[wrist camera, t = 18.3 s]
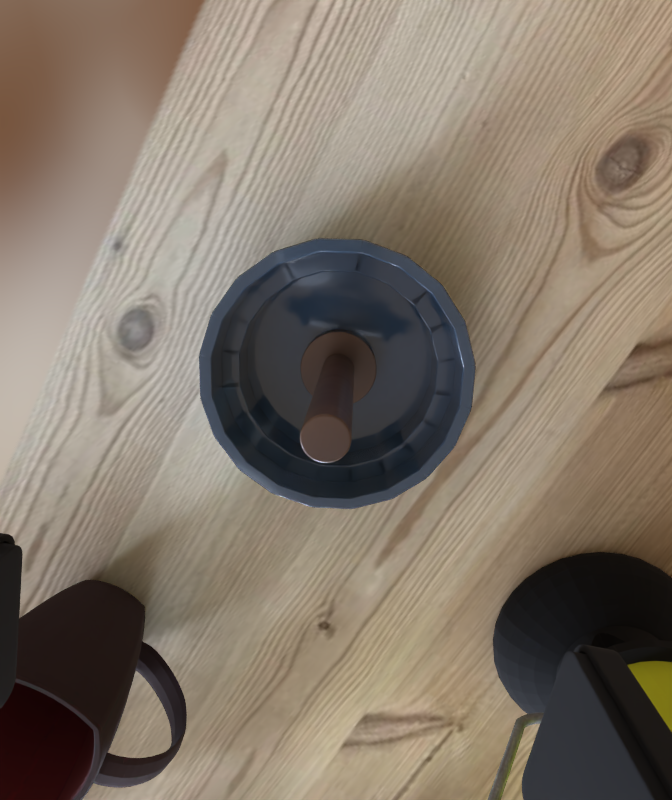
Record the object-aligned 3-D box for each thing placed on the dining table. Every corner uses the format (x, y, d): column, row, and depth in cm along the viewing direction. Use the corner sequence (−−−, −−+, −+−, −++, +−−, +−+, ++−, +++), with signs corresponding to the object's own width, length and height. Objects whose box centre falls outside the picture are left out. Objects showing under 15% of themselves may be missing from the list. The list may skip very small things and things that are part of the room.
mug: (67, 535, 41) (-49, 646, 29) (236, 616, 42) (190, 753, 30) (22, 637, 43) (-102, 776, 31) (184, 711, 44) (122, 872, 33)
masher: (287, 356, 36) (238, 422, 21) (349, 314, 35) (341, 353, 20) (329, 415, 37) (309, 518, 22) (390, 376, 36) (412, 456, 21)
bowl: (177, 331, 37) (144, 344, 31) (372, 191, 34) (375, 177, 28) (310, 510, 39) (302, 553, 34) (499, 393, 37) (526, 419, 31)
